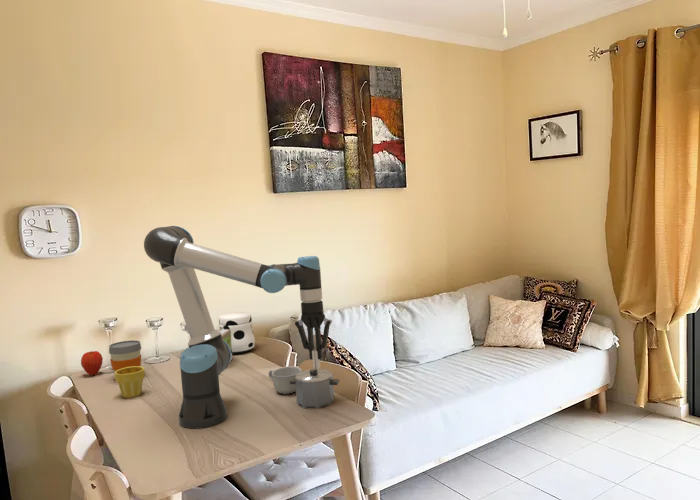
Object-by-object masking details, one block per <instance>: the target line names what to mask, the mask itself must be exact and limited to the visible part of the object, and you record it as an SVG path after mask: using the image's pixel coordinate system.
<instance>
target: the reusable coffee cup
mask: <svg viewBox="0 0 700 500" xmlns="http://www.w3.org/2000/svg"><path fill="white" fill-rule="evenodd" d="M108 347H109V349H108V353H109V355H110V364H111V369H112V371H113V372H114V374H115V372H116V371H117V370H119V369H122V368H126V367H132V366H141V365H142V354H141V350H142V344H141V341H140V340H135V339H134V340H133V339H131V340H123V341H119V342H114V343H111V344H109V346H108ZM141 367H142V366H141Z"/></svg>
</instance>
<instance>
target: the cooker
mask: <svg viewBox="0 0 700 500" xmlns="http://www.w3.org/2000/svg"><path fill="white" fill-rule="evenodd" d="M339 383H340V379H338V378H337V379H336V378H334V374H332V377H331V378H330V379H328V380H325V381H322V382H316V383H304V382H299V381H297V380H296V379H292V380H291V381H290V384H296V392H295V394H296V395H295V396H296V405H297V404H298V405H297V406H298V407H300V406H301V407H300V408H302V407H303V408H302V409H307V408H319V409H321V408H320V407H323V408H326V407H325V406H327V407H329V406H328V405H330V406H331V405H332V404H334V402H335V389H334V386H338V385H339Z"/></svg>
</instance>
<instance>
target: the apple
mask: <svg viewBox="0 0 700 500" xmlns="http://www.w3.org/2000/svg"><path fill="white" fill-rule="evenodd" d="M80 365H81V367H82V368H83V370H84V371H85V373H87V374H88V375H89V376H96V375H97V374H98V373H99V372H100V370H101V368H102V365H103V356H102V354H101V353H100V352H99V351H96V350H95V351H92V350H91V351H87V352H85V353H84V354H83V355H82V356H81V359H80Z"/></svg>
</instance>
